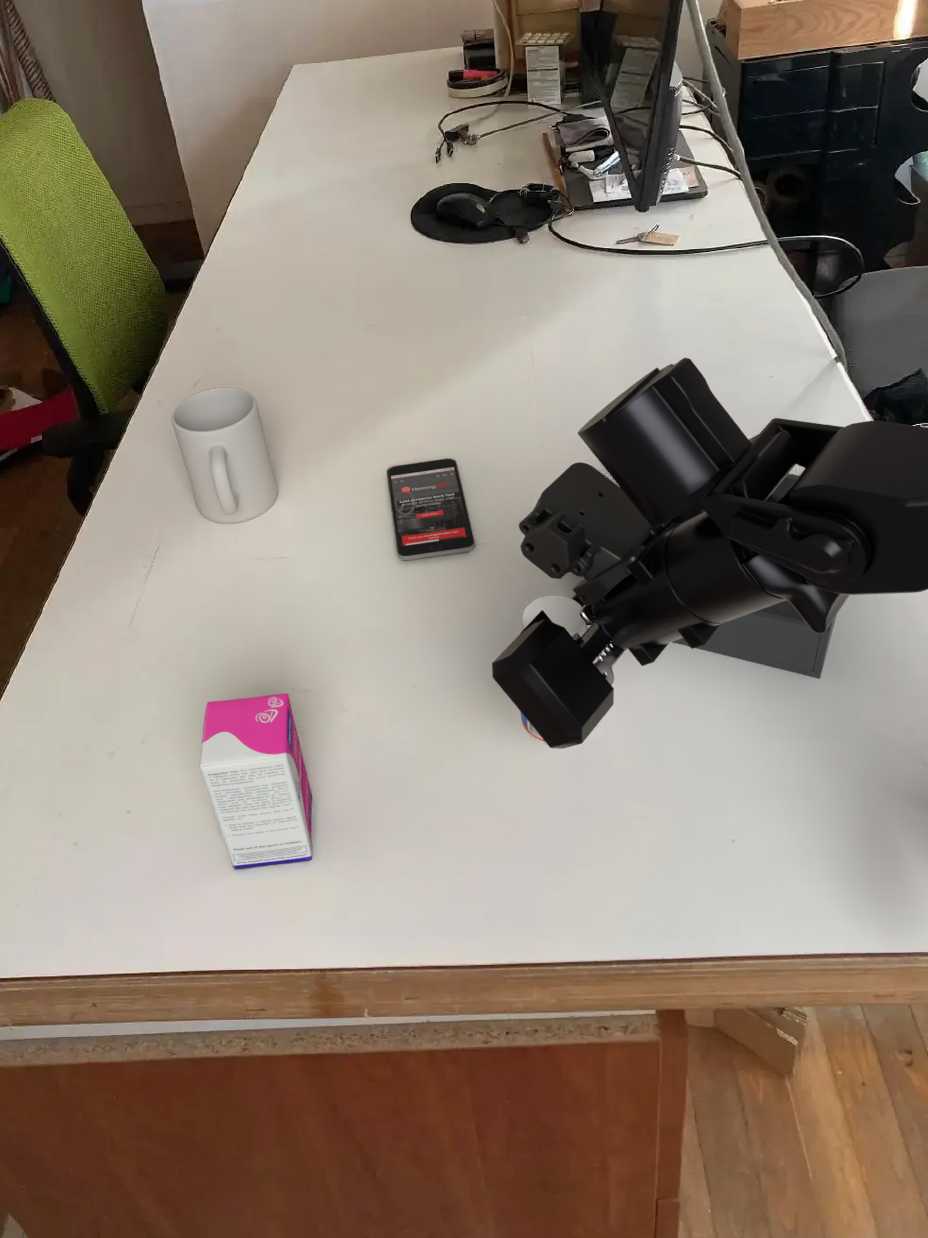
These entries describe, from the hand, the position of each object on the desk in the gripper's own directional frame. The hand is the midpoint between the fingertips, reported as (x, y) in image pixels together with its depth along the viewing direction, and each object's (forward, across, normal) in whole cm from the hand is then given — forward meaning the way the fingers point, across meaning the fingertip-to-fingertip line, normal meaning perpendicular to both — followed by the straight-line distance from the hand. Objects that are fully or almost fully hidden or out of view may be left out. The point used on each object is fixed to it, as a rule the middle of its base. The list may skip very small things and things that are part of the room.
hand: (538, 643), depth 67 cm
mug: (+40, -11, -22) cm, 47 cm away
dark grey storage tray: (+8, -27, +10) cm, 30 cm away
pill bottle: (+4, 0, +6) cm, 7 cm away
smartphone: (+28, -21, -10) cm, 36 cm away
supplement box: (+19, +15, 0) cm, 24 cm away
